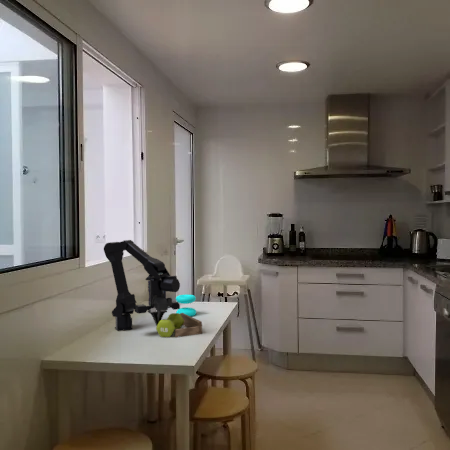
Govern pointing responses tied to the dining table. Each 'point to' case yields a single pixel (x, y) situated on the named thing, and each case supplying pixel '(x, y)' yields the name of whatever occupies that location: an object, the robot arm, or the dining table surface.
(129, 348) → the dining table surface
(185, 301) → the donuts
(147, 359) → the dining table surface
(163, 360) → the dining table surface
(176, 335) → the walnut corral
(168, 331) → the dumbbell
